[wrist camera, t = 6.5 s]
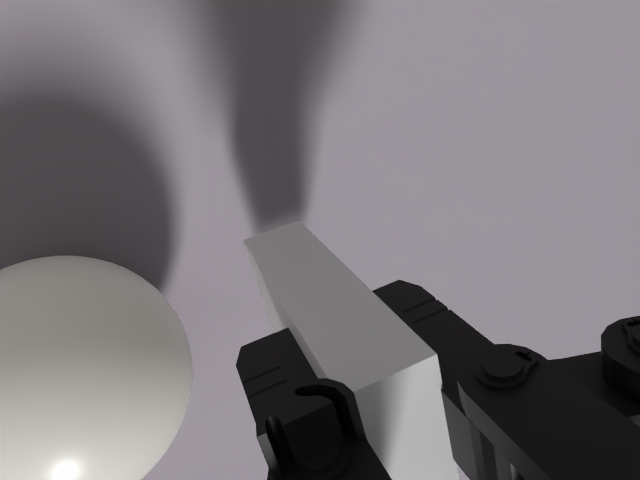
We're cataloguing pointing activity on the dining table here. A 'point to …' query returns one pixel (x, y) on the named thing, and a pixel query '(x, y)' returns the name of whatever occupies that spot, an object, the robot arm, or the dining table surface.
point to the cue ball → (87, 371)
